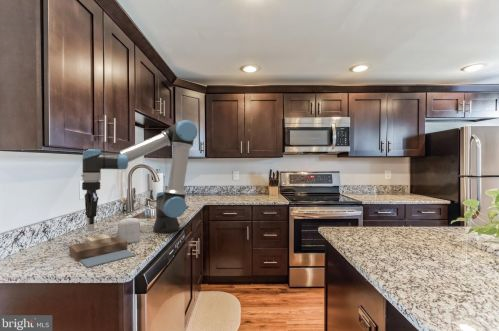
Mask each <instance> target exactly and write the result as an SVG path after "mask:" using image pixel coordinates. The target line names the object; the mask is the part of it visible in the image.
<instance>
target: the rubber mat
mask: <svg viewBox="0 0 499 331" xmlns="http://www.w3.org/2000/svg"><path fill="white" fill-rule="evenodd" d="M133 257H136V256H135V254H133V253H132V252H130V251H128V249H127V250H122V251H118V252H113V253H109V254H104V255H100V256H96V257H91V258H87V259H83V260H80V261H79V262H80V263H82V265H83V266H85V267H86V268H87V269H89V268H93V267H97V266H101V265H105V264H110V263H113V262H116V261H117V262H119V261H121V260H125V259H129V258H133Z"/></svg>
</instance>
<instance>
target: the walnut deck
mask: <svg viewBox="0 0 499 331" xmlns="http://www.w3.org/2000/svg"><path fill="white" fill-rule="evenodd" d="M110 237H111V243H108V244H103V245H98V246H93V247H91V246H89V245H88V244H87V243H86V241H85V242H79V243H75V244H70V245H69V248H68V250H69V253H68V254H69V255H70V257H72V258H73V260H75V262H80V260H83V259H87V258H91V257H96V256H100V255H104V254H109V253H113V252H118V251H122V250H127V251H128V243H127V241H125V240H123V239H122V238H120V237H118V235H117V236H110Z"/></svg>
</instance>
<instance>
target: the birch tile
mask: <svg viewBox="0 0 499 331" xmlns="http://www.w3.org/2000/svg"><path fill="white" fill-rule="evenodd" d="M111 237H112V236H109V235H108V234H105V233H103V234H97V235H93V236H92V235H91V236H87V237H85V242H86V243H87V244H88V245H89V246H91V247H93V246H98V245H103V244H108V243H111Z"/></svg>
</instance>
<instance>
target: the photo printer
mask: <svg viewBox="0 0 499 331" xmlns="http://www.w3.org/2000/svg"><path fill="white" fill-rule="evenodd" d="M140 235H141V222H140V219H139V218H135V217H127V218H123V219H119V220H118V223H117V236H118V237H120V238H122V239H123V240H125V241H127V244H131V243H139V242H140V237H141V236H140Z"/></svg>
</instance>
